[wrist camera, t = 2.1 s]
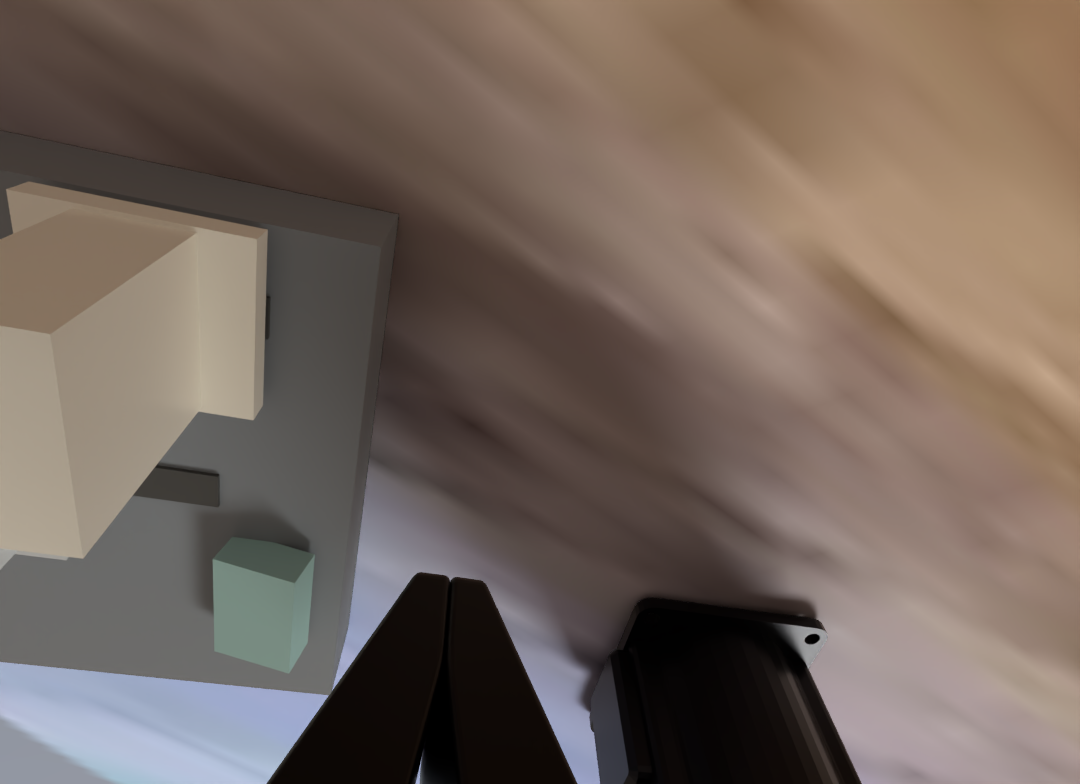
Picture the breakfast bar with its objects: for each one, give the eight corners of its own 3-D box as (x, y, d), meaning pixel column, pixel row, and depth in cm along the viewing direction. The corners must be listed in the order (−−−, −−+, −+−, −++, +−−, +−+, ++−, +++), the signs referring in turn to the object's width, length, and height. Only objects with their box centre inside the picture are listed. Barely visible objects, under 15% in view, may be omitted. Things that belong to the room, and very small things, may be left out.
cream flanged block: (267, 229, 12) (140, 342, 8) (263, 405, 14) (157, 573, 10) (28, 181, 11) (-248, 275, 7) (56, 371, 13) (-152, 534, 9)
